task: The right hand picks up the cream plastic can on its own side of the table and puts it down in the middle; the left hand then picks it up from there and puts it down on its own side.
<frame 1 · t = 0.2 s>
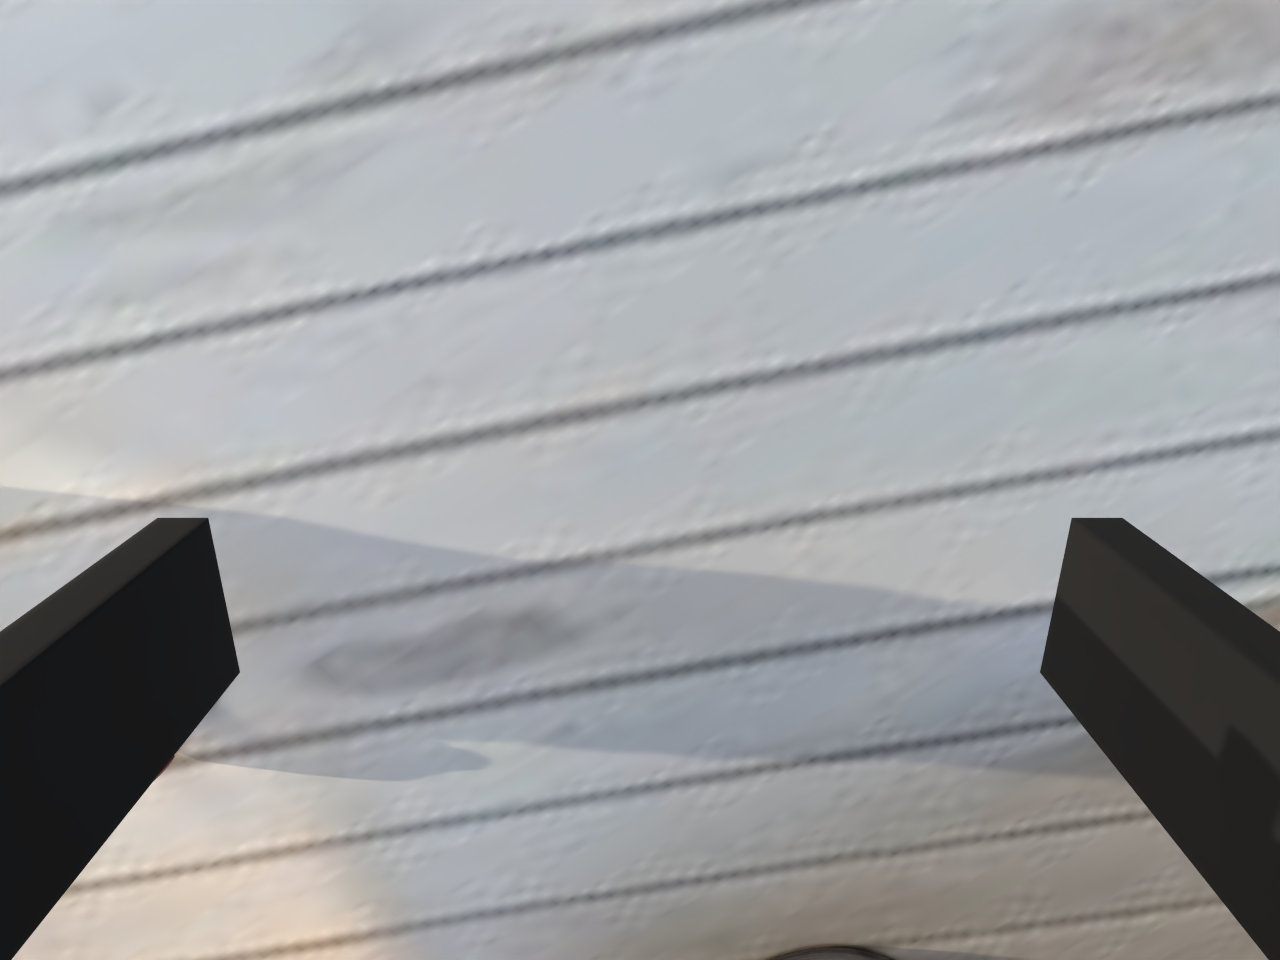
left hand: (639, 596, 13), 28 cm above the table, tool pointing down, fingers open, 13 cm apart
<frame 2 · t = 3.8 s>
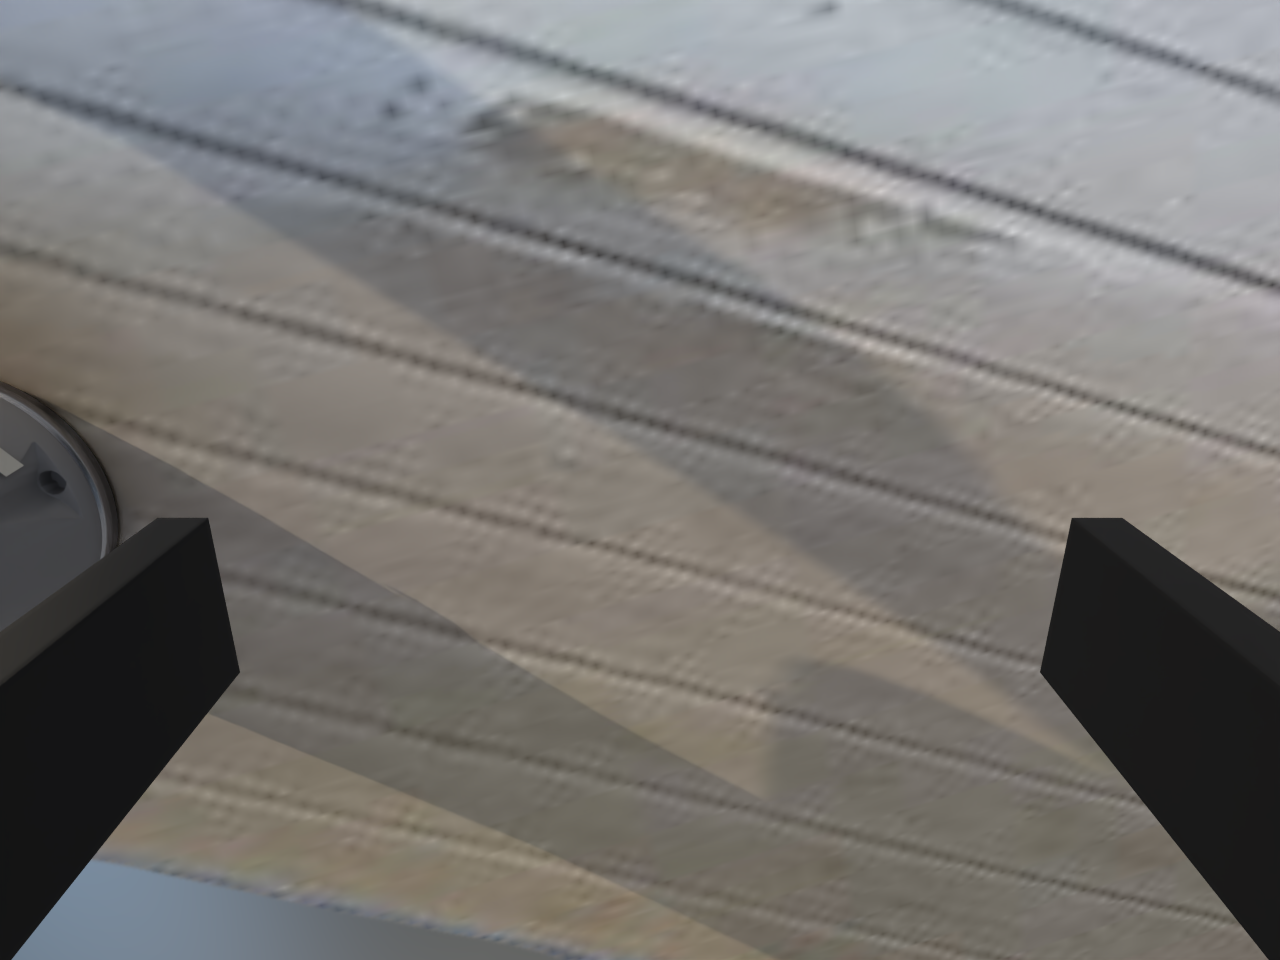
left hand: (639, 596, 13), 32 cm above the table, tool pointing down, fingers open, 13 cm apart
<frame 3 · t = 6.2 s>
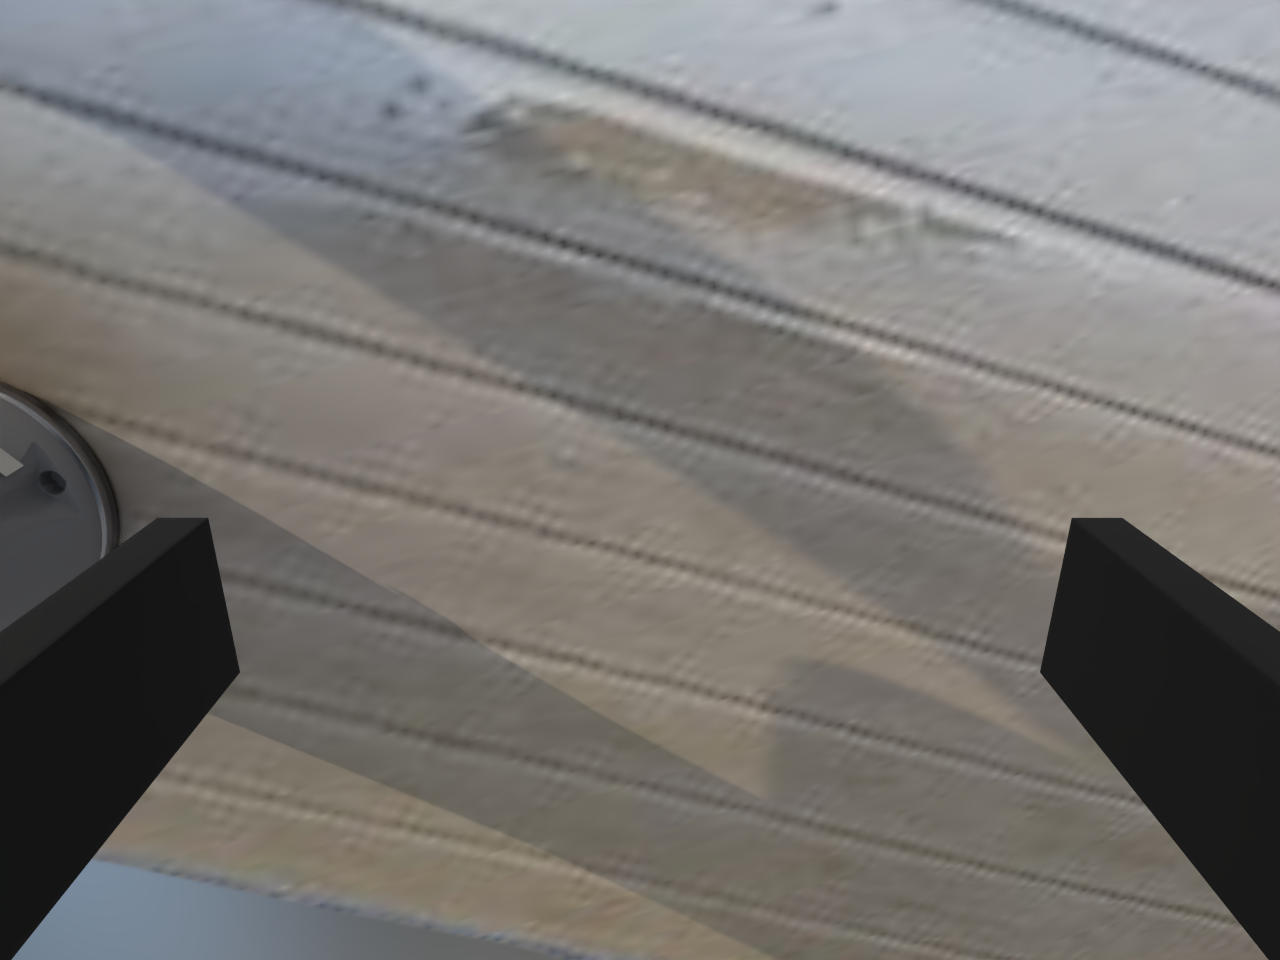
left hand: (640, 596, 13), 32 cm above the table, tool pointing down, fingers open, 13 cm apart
when the right hand's fingers open (3 cm above the table, at t = 8.5 s): can stays where it is, on the table.
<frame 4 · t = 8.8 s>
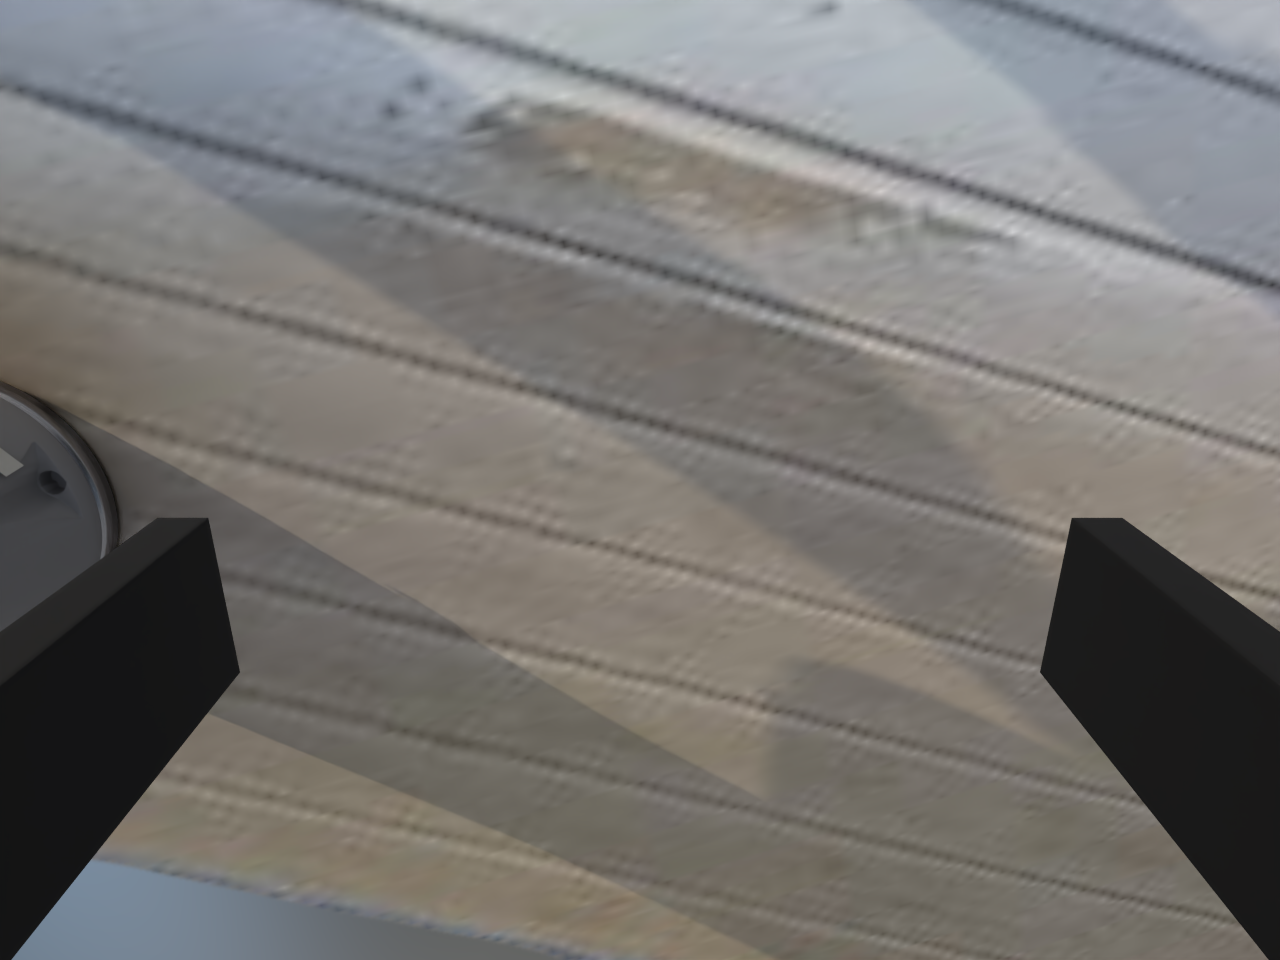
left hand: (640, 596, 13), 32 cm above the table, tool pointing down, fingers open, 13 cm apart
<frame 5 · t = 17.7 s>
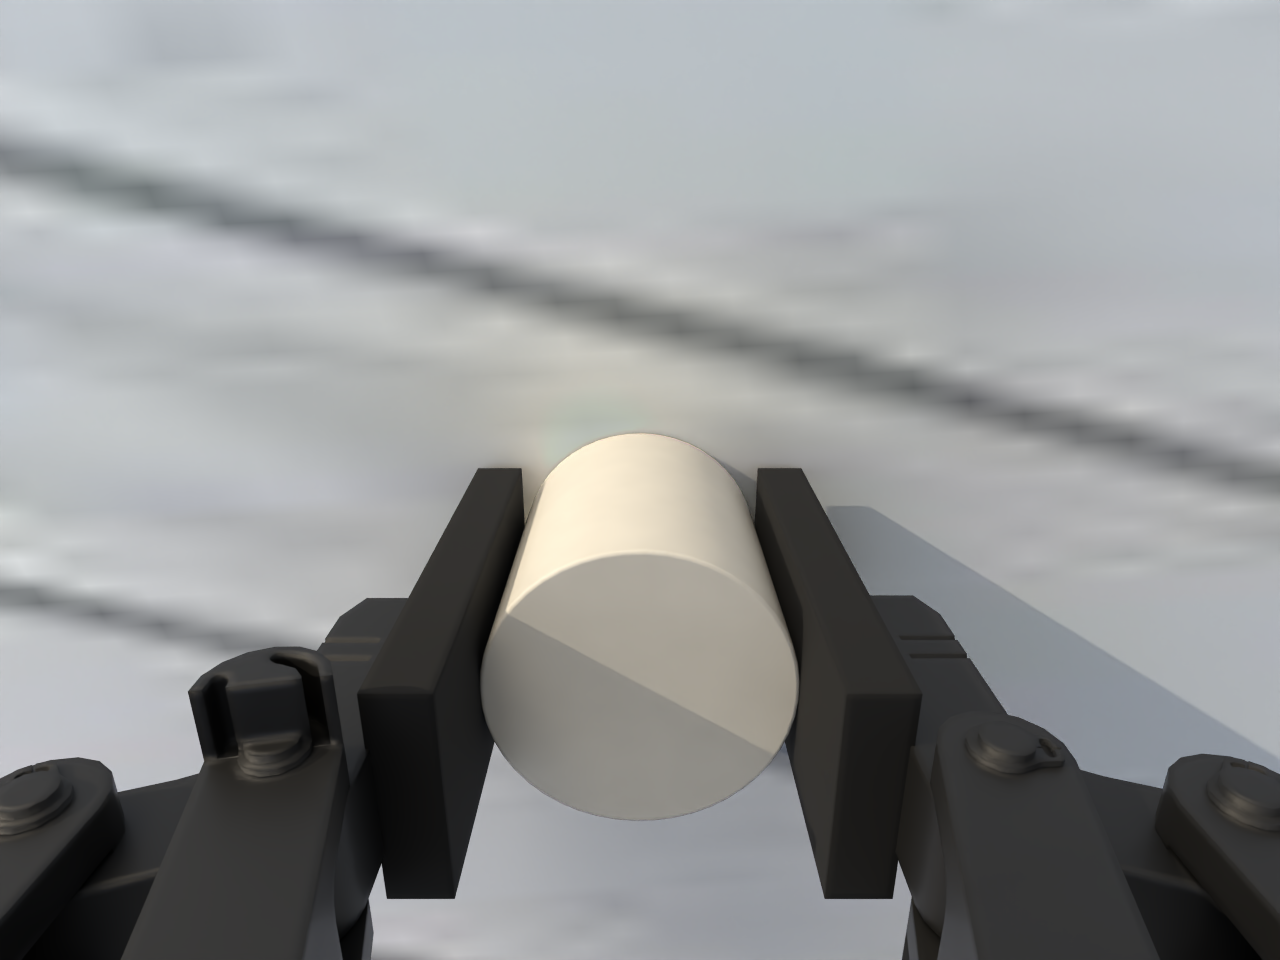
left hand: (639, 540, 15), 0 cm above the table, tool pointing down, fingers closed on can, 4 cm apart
can: (639, 539, 15), on the table, touching left hand
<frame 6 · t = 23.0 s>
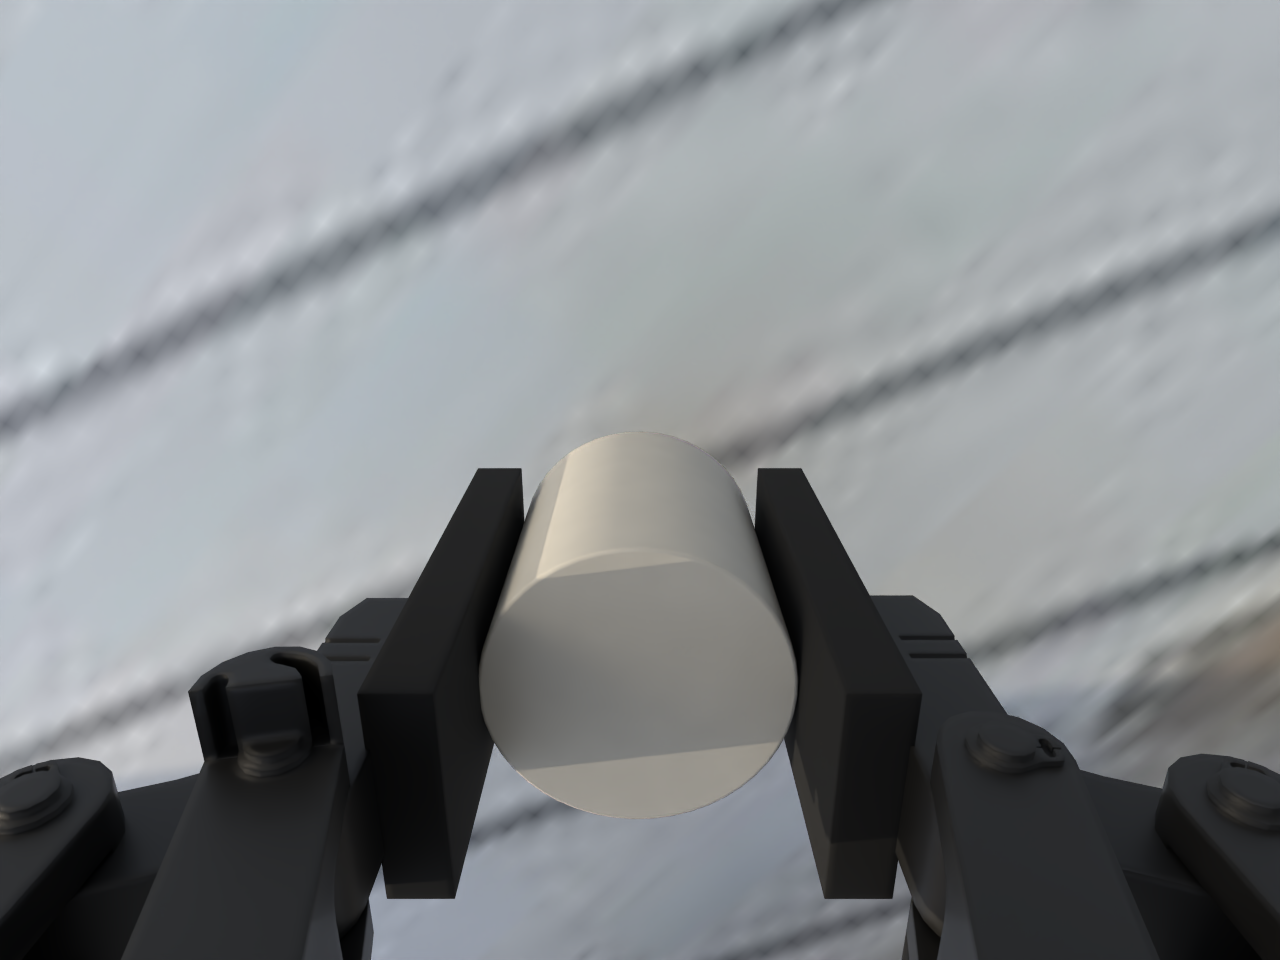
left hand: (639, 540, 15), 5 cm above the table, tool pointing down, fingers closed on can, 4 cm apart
can: (638, 538, 15), point 5 cm above the table, touching left hand
when the left hand's fingers open (1 cm above the table, at t = 28.4 s): can stays where it is, on the table.
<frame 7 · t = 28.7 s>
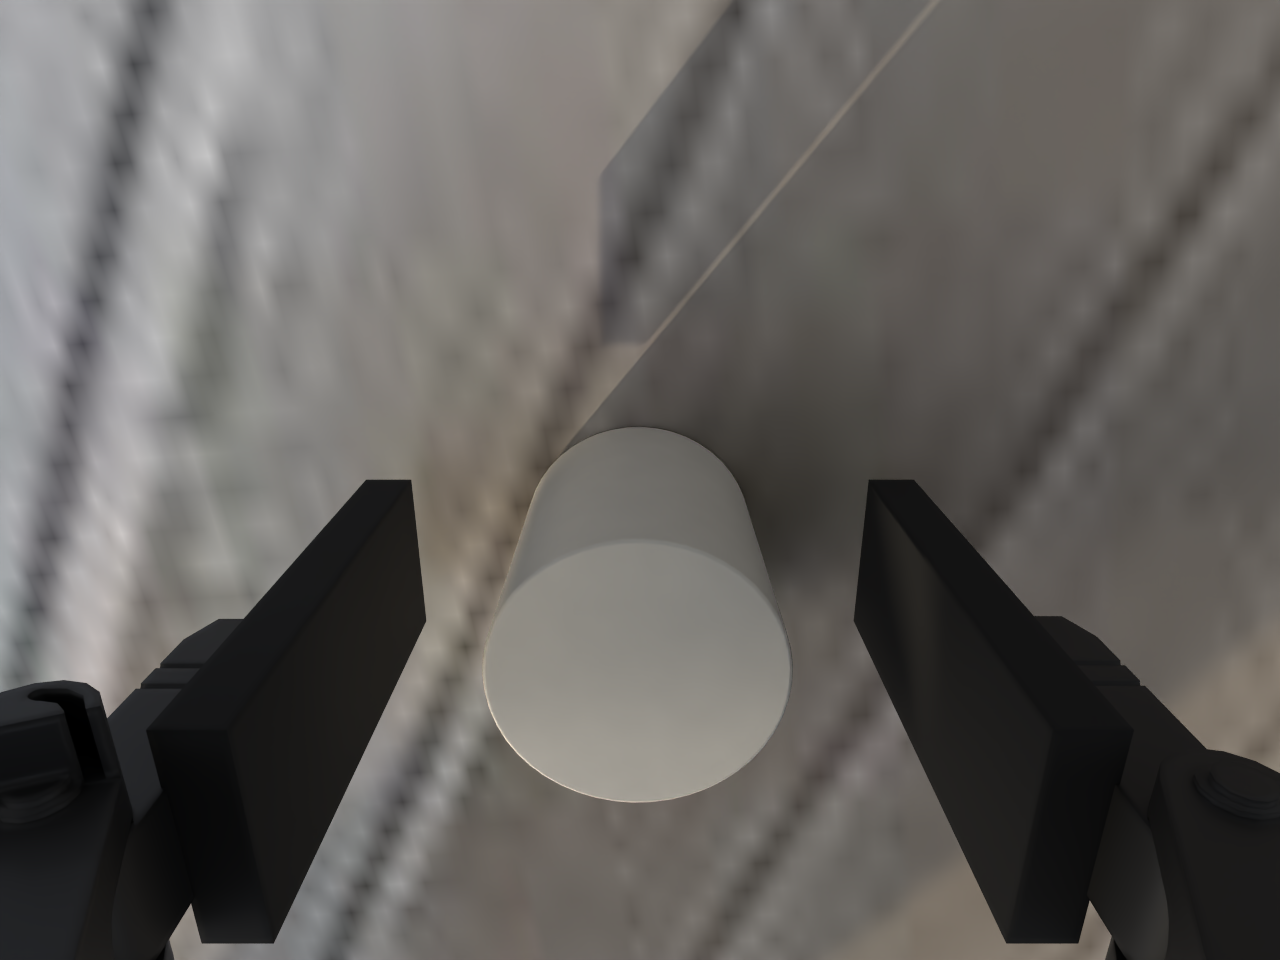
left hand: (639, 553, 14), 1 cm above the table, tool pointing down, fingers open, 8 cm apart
can: (638, 531, 15), on the table
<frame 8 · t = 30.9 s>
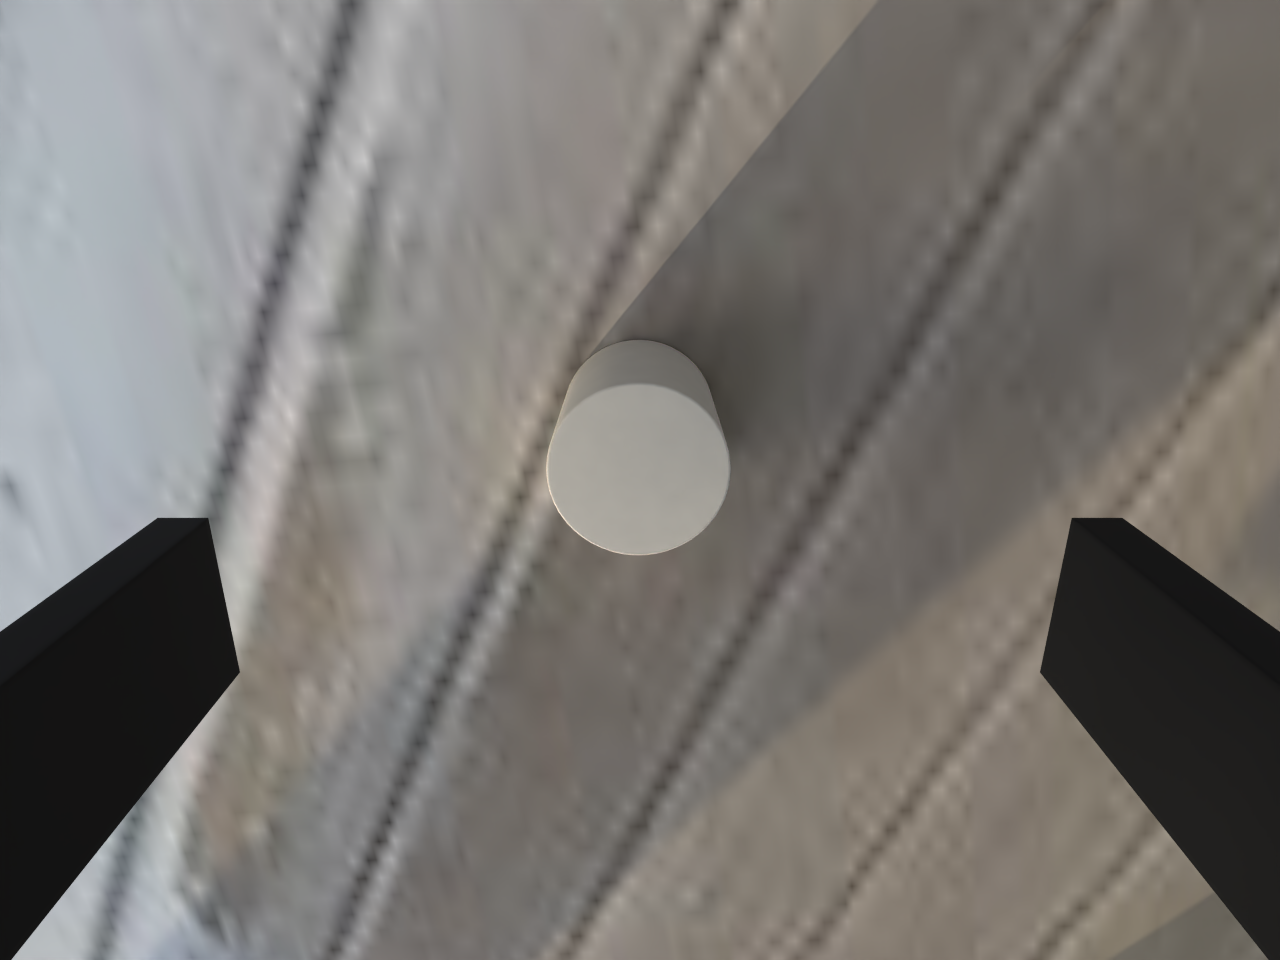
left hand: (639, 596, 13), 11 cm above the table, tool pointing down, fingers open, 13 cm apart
can: (638, 413, 23), on the table
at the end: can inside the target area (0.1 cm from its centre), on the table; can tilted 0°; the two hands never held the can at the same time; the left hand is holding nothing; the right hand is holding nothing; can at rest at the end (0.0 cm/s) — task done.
